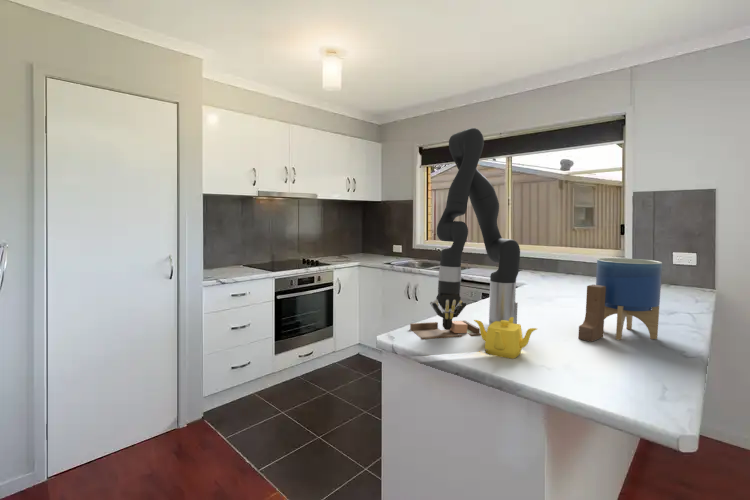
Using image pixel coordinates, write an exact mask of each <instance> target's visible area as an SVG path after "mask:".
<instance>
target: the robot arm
mask: <svg viewBox="0 0 750 500" xmlns="http://www.w3.org/2000/svg"><path fill="white" fill-rule="evenodd" d="M484 144H485V140H484V136H483V133H482V131H480V129H478V128H476V127H471V128H467V129H464V130H461V131H459V132H456V133H453V134H452V135H451V136H450V137H449V139H448V149H449V153H450V155H451V157H452V159H453V162H454V164H455V166H456V168H457V169H458V171H457V173H456V175H455V177H454V178H453V180H452V182H451V184H450V186H449V188H448V193H447V197H446V198H447V199H446V203H445V209H444V210H443V212H442V215H441V217H440V219H439V221H438V224H437V225H436V235H437V238H438V239H439V240H440V241H442V242H449V243H451V242H452V245H451V246H450V247H448V248H447V247H446V248H444V249H443V248H442V249H441V252H440V259H439V260H440V261H439V271H438V279H437V280H438V281H437V284H438V285H437V296H435V297H436V298H435V299H434V301H430V303H429V304H430V306H431V307H432V308H433V310H434V312H435V313H436V315H438V317H441V318H442V328H443V330H450V328H451V327H452V321H453V319H454V318H458V317H459V315H460V314H461V312H463V310H464V309H465V308H466V307H467V303H466V302H464V301H463V300H461V299H462V298H461V286H462V285H461V282H462V255H463V251H464V247H465V245H466V243H467V242H466V241H467V239H468V235H469V227H468V225H467V223H466V222H464V221H462V220H455V219H456V218H457V217H460V216H464V215H465V214H467V213H466V212H467V209H468V203H469V200H470V203H471V206H472V209H473V212H474V214H475V217H476V220H477V223H478V225H479V228H480V231H481V235H482V239H483V243H484V248H485V253H486V254H487V257H488V259H490V261H492V262H494V263H498V268H497V270H495V271H493V272H492V273H491V274H490V277H489V279H490V281H489V310H488V311H489V313H488V326H489V325H490V324H492V323H493V322H495V321H501V320H507V321H509V318H511V317H513V318H514V319H513V323H514V324H518V306H519V305H518V302H517V301H516V295H517V294H516V291H517V290H516V289H517V277H518V275H519V270H520V259H521V248H520V244H519V243H518V241H516V240H515V239H513V238H503V237H502V235H501V233H500V229H499V227H498V217H499V212H500V203H499V202H500V201H499V199H498V196H497V193H496V190H495V188H494V186H493V184H492V182H490V180H489V179H488V178H486V176H484V175H483V174H482V173H481V172H480V171H479V170H478V168H477V167H478V164H479V161H480V159H481V155H482V152H483V149H484ZM439 306H440V307H441V309H440V307H439Z"/></svg>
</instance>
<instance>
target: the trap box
mask: <svg viewBox="0 0 750 500" xmlns="http://www.w3.org/2000/svg"><path fill="white" fill-rule="evenodd" d="M461 321H462V322H464V323H466V324H468V325H467V333H466V334H467V335H469V336H470V337H477V336H479V337H480V336H481V333H480V327H479V326H477V325H474V324H472V323H470V322H469V321H467V320H463V319H462V320H461ZM438 324H439V323H438V322H437V321H432V322H431V321H430V322H428V321H427V322H414V323H413V322H411V323H409V325H410V326H409V328H410V331H412V332H413V333H414V334H415V335H416V336H418V337H419V338H420V339H421V340H431V339H432V340H433V339H446V338H447V339H449V338H461V337H463V336H462V333H454V332H452V331H451V330H446V329H440V328H438V327H439V325H438Z"/></svg>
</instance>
